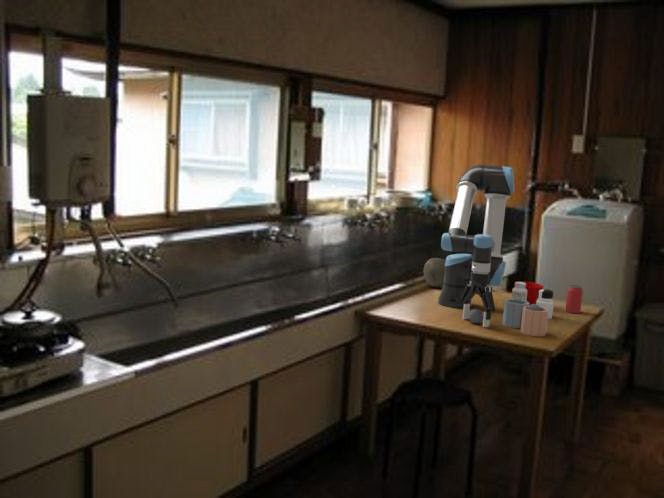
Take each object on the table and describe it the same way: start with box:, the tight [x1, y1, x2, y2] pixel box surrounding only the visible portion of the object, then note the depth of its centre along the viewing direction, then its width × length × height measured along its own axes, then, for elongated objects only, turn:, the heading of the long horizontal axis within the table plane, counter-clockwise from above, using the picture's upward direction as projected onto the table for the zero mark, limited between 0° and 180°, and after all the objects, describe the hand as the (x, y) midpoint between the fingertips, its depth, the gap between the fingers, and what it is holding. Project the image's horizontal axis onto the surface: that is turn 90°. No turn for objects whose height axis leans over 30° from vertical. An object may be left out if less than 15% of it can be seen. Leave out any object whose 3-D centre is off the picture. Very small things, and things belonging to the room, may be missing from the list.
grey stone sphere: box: [422, 257, 446, 289], centre depth 374 cm, size 14×14×15 cm
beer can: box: [565, 284, 584, 314], centre depth 337 cm, size 7×7×12 cm
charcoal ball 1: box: [468, 308, 484, 324], centre depth 306 cm, size 6×6×6 cm
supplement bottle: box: [511, 281, 527, 301], centre depth 333 cm, size 7×7×13 cm
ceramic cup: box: [522, 281, 544, 306], centre depth 347 cm, size 13×17×10 cm
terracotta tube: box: [519, 306, 549, 337], centre depth 296 cm, size 10×10×10 cm
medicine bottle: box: [536, 288, 555, 320], centre depth 325 cm, size 7×7×12 cm
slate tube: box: [501, 298, 529, 329], centre depth 306 cm, size 10×10×10 cm
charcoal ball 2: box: [527, 304, 542, 311], centre depth 296 cm, size 6×6×6 cm
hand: (475, 322), depth 306 cm, fingers open, 12 cm apart
